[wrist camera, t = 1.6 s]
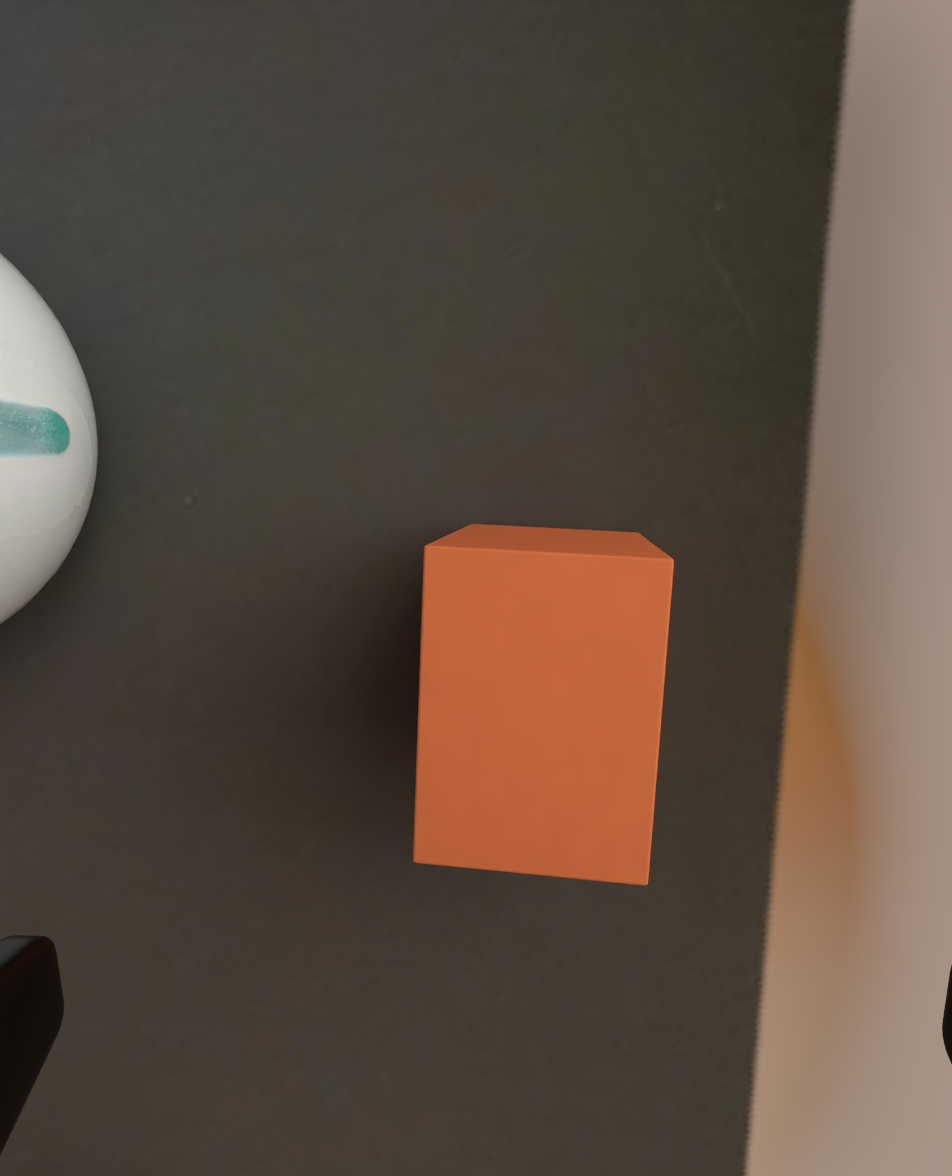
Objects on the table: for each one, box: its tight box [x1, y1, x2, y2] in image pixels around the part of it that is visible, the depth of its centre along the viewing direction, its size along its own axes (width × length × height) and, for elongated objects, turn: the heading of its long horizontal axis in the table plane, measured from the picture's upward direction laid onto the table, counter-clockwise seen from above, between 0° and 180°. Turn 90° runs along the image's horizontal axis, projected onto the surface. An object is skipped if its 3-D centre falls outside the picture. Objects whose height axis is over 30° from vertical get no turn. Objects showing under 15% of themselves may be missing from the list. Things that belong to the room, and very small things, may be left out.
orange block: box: [413, 524, 674, 885], centre depth 18 cm, size 6×4×7 cm
